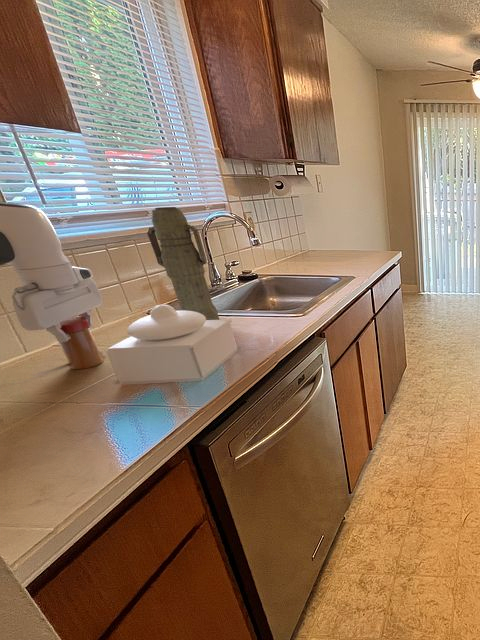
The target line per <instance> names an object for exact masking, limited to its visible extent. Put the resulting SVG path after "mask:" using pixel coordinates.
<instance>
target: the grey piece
mask: <svg viewBox="0 0 480 640" xmlns="http://www.w3.org/2000/svg"><path fill="white" fill-rule="evenodd" d="M151 223H152V227H149V228H148V230H147V233H146V234H147V237H148V240H149V242H150V244H151V247H152V250H153V252H154V254H155V257H156V261H157V264H158V265H159V266H161V267H163V268H164V270H165V273H166V276H167V277H168V278H169V279H170V281H171V285H172V287H173V289H174V293H175V295H176V299H177V302H178V305H179V308H180V311H181V310H184V311H194V312H198V313H201V314H202V315H204V316H205V317H206V320H221V319H220V316H219V313H218V310H217V307H216V306H215V305H214V303H213V301H212V297H211V294H210V291H209V288H208V284H207V281H206V277H205V272H206V271H205V268H204V265H207V264H208V262H207V261H208V260H207V257H206V253H205V250H204V246H203V242H202V239H201V236H200V232H199V230H198V229H197V227H195V225H191V224H189V223H188V219H187V218H186V216H185V214H184V213H183V211H182V210H181V208H178V207H176V206H163V207H161V206H160V207H154V209H151ZM191 232H192V233H193V236H194V240H195V243H196V245H195V243H194V242H193V239H192V238H193V236H192V233H191ZM196 246H197V247H196Z"/></svg>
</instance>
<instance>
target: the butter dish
mask: <svg viewBox="0 0 480 640" xmlns="http://www.w3.org/2000/svg"><path fill="white" fill-rule="evenodd" d="M149 313H150V314H149V315H146V316H143V317H140V318H138V319H137V320H135V321H133V322H132V323H130V325H129V326H128V327H127V329H126V332H127V334H128V336H129V337H127V338H125V339H123V340H121V341H119V342H117V343H115V344H113V345H111V346H110V347H108V348H106V349H107V350H106V351H105V354H106V355H107V357H108V360H109V362H110V365H111V367H112V369H113V371H114V374H115V376H116V379H117V380H118V383H119V384H120V385H121V386H127V385H147V384H165V383H166V384H168V383H186V382H188V383H189V382H203V381H204V380H206V379H207V378H208V377H209V376H210V375H211V374H213V373H214V372H215V371H216V370H217V369H218V368H220V367H221V366H222V365H223V364H225V362H227V361H228V360H229V359H230V358H231V357H233V356H234V355H235V354H236V353H238V352H239V349H238V345H237V342H236V339H235V336H234V332H233V328H232V325H231V323H232V319H231V318H228V319H227V318H225V319H220V320H206V317H205V316H204V315H202V314H201V313H198V312H194V311H184V310H181V309H180V310H176V309H175V308H174V307H173V306H171V305H169V304H167V303H166V304H163V303H160V304H157V305H155V306H153V307H152V309H150V312H149Z"/></svg>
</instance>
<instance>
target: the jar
mask: <svg viewBox="0 0 480 640" xmlns="http://www.w3.org/2000/svg"><path fill="white" fill-rule="evenodd" d="M67 333H69V335H70V337H71V339H70V340H68V341H67V342H58V344H59V345H60V347H61V349H62V352H63V354H64V356H65V358H66V361H67V363H68V364H69V367H70V368H71V369H72V370H84V369H89V368H93V367H96V366H99V365H101V364H102V363H104V358H103V356H102V355H101V352H100V349H99V347H98V344H97V342H96V340H95V337H94V336H93V333H92V331H91V330H90V329H89V327H87V328H84V329H81V330H78V331H73V332H67Z"/></svg>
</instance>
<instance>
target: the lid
mask: <svg viewBox="0 0 480 640" xmlns="http://www.w3.org/2000/svg"><path fill="white" fill-rule="evenodd" d="M60 325H61V328H60V329H61V330H62V331H63V332H64V333H67V332H73V331H78V330H81V329H84V328H87V327H89V326H90V323H89V321H88V320H87V318H86V317H81V316H75V317H73V318H70V319H68V320H65V321H63V322H61V323H60Z"/></svg>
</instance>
